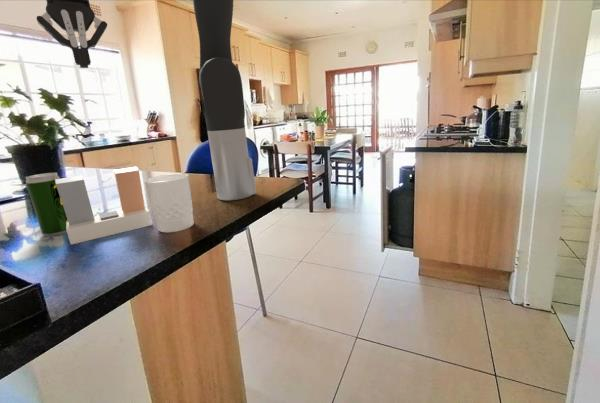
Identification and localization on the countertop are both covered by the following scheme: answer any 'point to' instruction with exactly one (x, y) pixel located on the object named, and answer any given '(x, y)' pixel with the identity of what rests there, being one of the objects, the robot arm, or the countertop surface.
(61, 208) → the green coffee cup
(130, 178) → the brown rectangular block
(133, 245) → the countertop surface
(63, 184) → the grey rectangular block
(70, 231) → the switch strip
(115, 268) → the countertop surface
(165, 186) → the white cup
